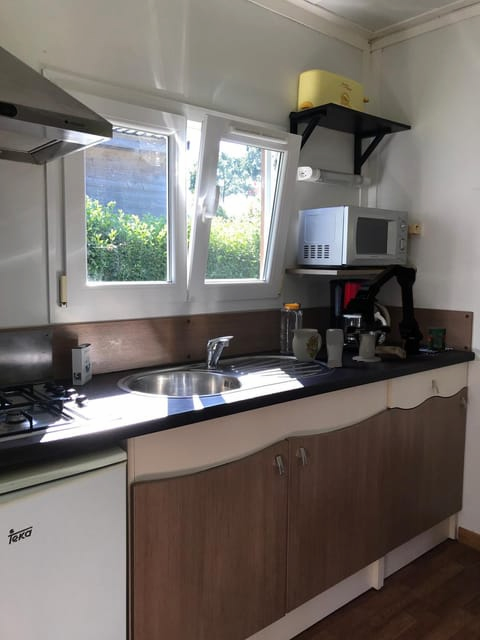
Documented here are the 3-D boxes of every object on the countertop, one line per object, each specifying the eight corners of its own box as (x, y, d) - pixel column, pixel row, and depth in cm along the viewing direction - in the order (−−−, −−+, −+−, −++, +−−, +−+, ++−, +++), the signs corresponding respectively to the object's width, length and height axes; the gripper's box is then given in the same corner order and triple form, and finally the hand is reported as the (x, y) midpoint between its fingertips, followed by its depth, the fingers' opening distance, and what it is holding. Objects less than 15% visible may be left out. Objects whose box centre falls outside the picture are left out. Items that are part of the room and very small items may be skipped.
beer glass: (336, 364, 227) (336, 328, 226) (346, 367, 221) (347, 330, 220) (322, 365, 224) (322, 329, 223) (332, 368, 218) (333, 331, 216)
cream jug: (357, 354, 241) (358, 334, 240) (373, 354, 241) (373, 334, 240) (361, 358, 232) (362, 336, 231) (377, 358, 232) (377, 336, 231)
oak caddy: (397, 353, 255) (398, 346, 255) (405, 358, 241) (406, 351, 240) (364, 352, 255) (364, 346, 255) (370, 358, 241) (370, 351, 241)
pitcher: (330, 359, 239) (330, 328, 237) (301, 364, 227) (302, 331, 226) (311, 356, 247) (311, 325, 245) (282, 361, 235) (283, 329, 234)
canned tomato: (424, 349, 265) (425, 326, 264) (439, 348, 267) (439, 326, 266) (434, 352, 258) (435, 328, 256) (448, 351, 259) (449, 328, 258)
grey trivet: (377, 357, 244) (377, 356, 244) (383, 362, 232) (383, 360, 232) (350, 357, 244) (350, 355, 244) (355, 362, 232) (355, 360, 232)
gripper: (348, 314, 228) (348, 351, 230) (394, 314, 227) (393, 352, 229) (344, 312, 239) (344, 347, 241) (388, 312, 239) (387, 347, 240)
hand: (367, 348), depth 238 cm, fingers closed on cream jug, 7 cm apart
